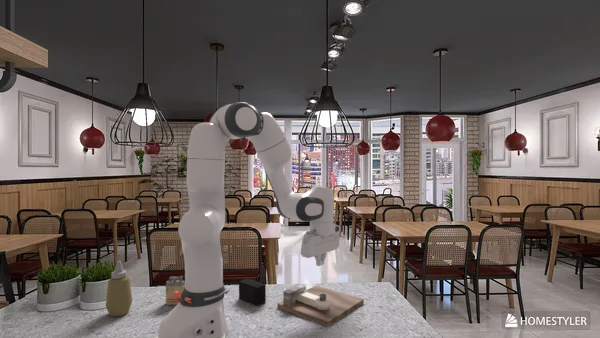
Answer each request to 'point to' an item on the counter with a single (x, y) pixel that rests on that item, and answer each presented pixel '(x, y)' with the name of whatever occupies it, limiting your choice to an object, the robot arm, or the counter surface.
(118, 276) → the squeeze bottle
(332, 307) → the pivot base
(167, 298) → the small jar
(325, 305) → the link
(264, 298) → the digital camera
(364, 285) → the counter surface
